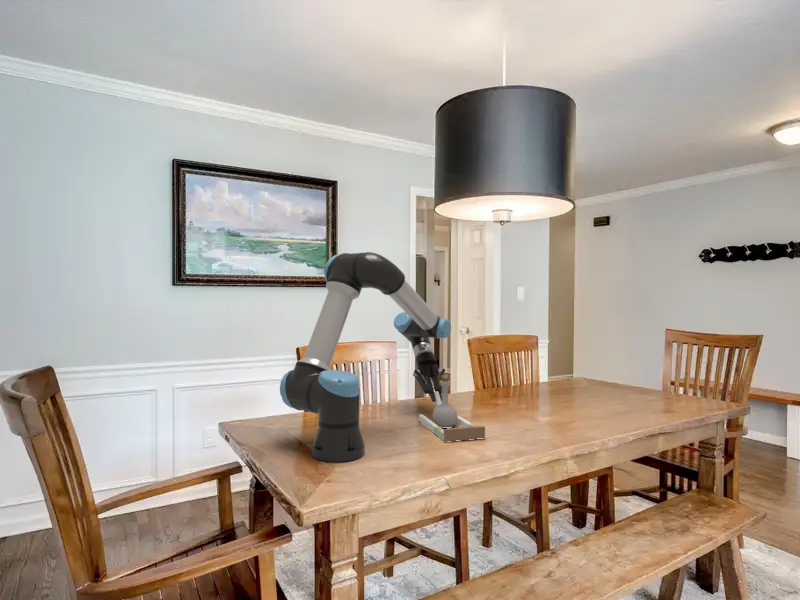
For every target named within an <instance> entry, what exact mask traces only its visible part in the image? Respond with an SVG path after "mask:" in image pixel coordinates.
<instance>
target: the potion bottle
mask: <svg viewBox="0 0 800 600" xmlns="http://www.w3.org/2000/svg"><path fill="white" fill-rule="evenodd" d="M440 385H441V387H442V393H441V395H442V401H441V403H442V404H440V405H437V406H435V407H434V409H433V411H432V420H433V421H432V422H434V423H435V424H436V425H438V426H439V427H442V428H443V427H453V426H454V425H456V421H457V417H458V416H459V415H458V412H457V410H456V408H455V407H454V405H452V404H449V403H448V402H449V387H450V385H451V380H449V374H444V375H442V380H441V381H439V386H440ZM457 415H458V416H457ZM454 427H455V426H454Z"/></svg>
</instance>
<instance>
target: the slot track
mask: <svg viewBox="0 0 800 600" xmlns="http://www.w3.org/2000/svg"><path fill="white" fill-rule="evenodd" d="M457 416H458V417H457V421H456V423H457V424H459V425H461V426H462V427H454V428H449V429H442V427H439V426H438V425H436V424H435V423H434V421H432V420H431V419H429V418H428V417H427V416H425V415H424V414H418V422H419V421H420V422H421V423H422V424H421V423H420V422H419V423H420V424H421V425H422V426H423V427H425V426H426V427H427V428H426V427H425V428H426V429H428V430H429V429H430V430H431V431H432V432H433V433H432V432H431V431H430V430H429V431H430V432H431V433H432V434H434V433H435V434H436V435H437V436H438V437H437V436H436V435H435V434H434V435H435V436H436V437H437V438H439V437H440V438H441V439H442V440H444V441H445V442H447V441H456V440H469V439H477V438H485V439H486V426H485V425H477V424H473V423H472V422H469V421H468V420H467V419H465V418H463V417H461V416H460V415H458V414H457ZM456 423H455V424H456ZM457 424H456V425H457ZM459 425H458V426H459ZM440 438H439V439H440ZM441 439H440V440H441ZM442 440H441V441H442ZM444 441H443V442H444ZM445 442H444V443H445ZM447 443H448V442H447Z"/></svg>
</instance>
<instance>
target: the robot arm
mask: <svg viewBox="0 0 800 600" xmlns="http://www.w3.org/2000/svg"><path fill="white" fill-rule="evenodd" d="M323 274H324V275H325V276H324V280H325V282H326V284H325V287H326V289H327V295H326V297H325V300H324V302H323V305H322V307H321V310H320V313H319V315H318V318H317V320H316V324H315V326H314V329H313V332H312V334H311V337H310V340H309V342H308V345H307V348H306V350H305V352H304V354H303V357H302V358H300V359H298V360H297V361H296V362H295V366H294V369H291V370H288V372H286V373H284V375H283V376H282V379H281V381H280V384H279V394H280V396H281V400H282V401H283V403H284V404H285V405H286V406H287V407H289V408H291V409H295V410H297V411H303V412H307V413H311V414H312V413H313V414H317V415H318V428H317V431H316V434H315V438H314V441H313V443H312V448H311V454H312V457H313V458H315V459H317V460H318V461H322V462H330V463H342V462H350V461H354V460H358V459H360V458H362V457H363V456H364V455H365V453H366V450H365V448H366V446H365V441H364V439H363V438H364V437H363V436H362V433H361V428H360V394H361V393H360V392H361V390H360V381H359V377H358V376H357V375H355V374H354V373H352V372H349V371H345V370H337V369H336V370H335V369H331V368H330V367H331V363H332V361H333V358H334V355H335V352H336V349H337V346H338V344H339V340H340V338H341V335H342V333H343V329H344V326H345V323H346V320H347V318H348V315H349V312H350V309H351V306H352V303H353V302H354V300H356V299H358V298H359V297H360V295H361V292H362V289H370V288H371V289H375V290H378V291H380V292H381V294H383V295H386V296H389V297H390V298H391V300H393V302H395V303H396V305H398V306H399V307H400V308H401V310H403V312H399V313H398V314H397V315H396V316H395V317H394V320H393V326H394V328H395V329H396V331H397V332H398V333H400V334H401V335H402V336H403V337H404V338H406V340H407V341H408V342H410V344H411V347H412V351H413V355H414V359H415V362H416V365H417V368H416V369H414V370H413V372H412V376H413V377H414V378H416V380H417V382H418V384H419V386H420V387H421V389H422V392H423V393H424V394H425V395H428V396H429V397H430V399H431V402H432V403H434V406H435V407H436V406H437V405H440V404H442V387H441V385H440V381H441V380H442V375H445V374H446V369H445V368H440V367H439V365H438V364H437V359H436V356H435V353H434V350H433V347H432V344H431V341H430V338H433V339H438V340H439V339H446V338H448V337H450V334H451V332H452V324H451V321H450V320H449V319H448V318H444V317H439V316H438V315H437V314H436V313H435V312H434V311H433V309H432V308H431V307H430V306H429V305H428V304H427V303H426V301H425V300H424V299H423V298H422V297H421V296H420V294H419V293H418V292H417V291H415V289H414V288H413V286H412V285H410V284H409V283H408V281H407V280H406V276H405V274H404V272H403V271H402V270H401V269H400V268H399V267H398V266H397V265H396V264H395V263H393V262H392V261H391V260H389V259H388V258H386V257H384V256H383V255H382V254H378V253H376V252H372V251H371V252H370V251H366V252H357V253H356V252H355V253H349V252H342V253H340V254H335V255H332V256H331V257H330V258H329V259H328V261H326V264H325V267H324V269H323ZM437 374H438V375H439V379H438V378H437ZM438 380H439V381H438Z"/></svg>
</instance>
